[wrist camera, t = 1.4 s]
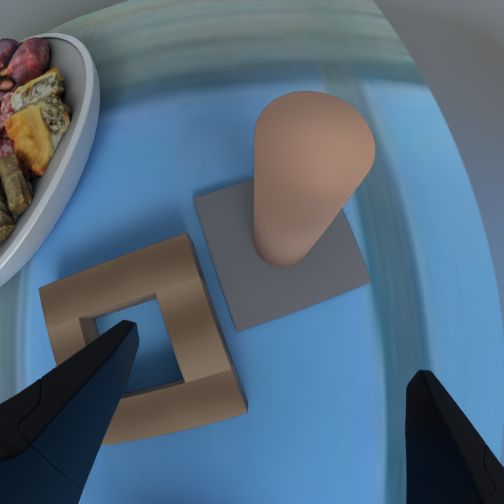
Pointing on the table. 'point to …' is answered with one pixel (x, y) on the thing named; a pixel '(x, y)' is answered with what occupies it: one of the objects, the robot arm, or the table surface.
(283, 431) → the table surface
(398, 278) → the table surface
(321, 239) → the mat
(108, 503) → the table surface
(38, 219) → the bowl
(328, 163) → the dowel
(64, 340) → the socket block
